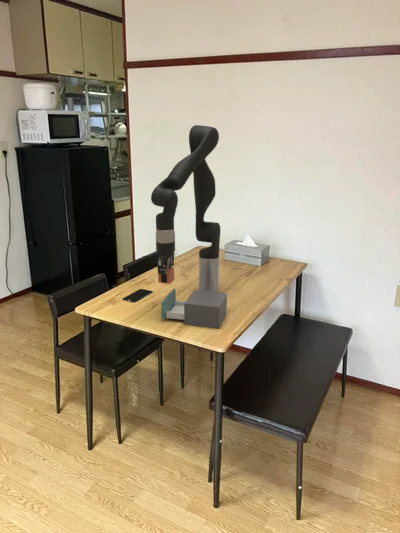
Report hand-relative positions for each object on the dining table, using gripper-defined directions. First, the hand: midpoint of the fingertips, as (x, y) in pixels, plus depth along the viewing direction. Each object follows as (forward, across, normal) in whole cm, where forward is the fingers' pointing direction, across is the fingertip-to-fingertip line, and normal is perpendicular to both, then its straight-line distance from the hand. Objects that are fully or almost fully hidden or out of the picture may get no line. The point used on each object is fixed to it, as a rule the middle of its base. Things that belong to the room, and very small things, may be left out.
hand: (166, 279), depth 175 cm
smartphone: (+16, -14, -20) cm, 29 cm away
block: (0, 0, 0) cm, 0 cm away
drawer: (+14, 0, +7) cm, 15 cm away
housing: (+15, 0, +17) cm, 22 cm away
